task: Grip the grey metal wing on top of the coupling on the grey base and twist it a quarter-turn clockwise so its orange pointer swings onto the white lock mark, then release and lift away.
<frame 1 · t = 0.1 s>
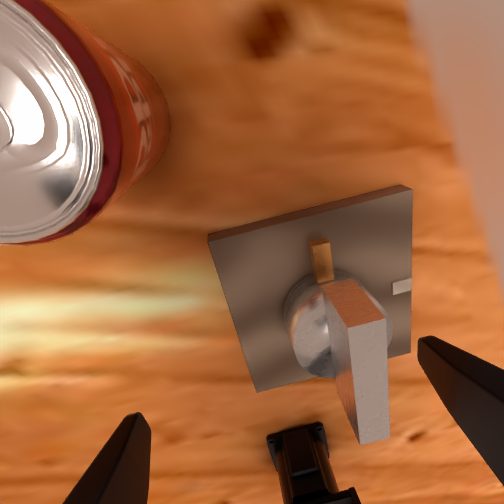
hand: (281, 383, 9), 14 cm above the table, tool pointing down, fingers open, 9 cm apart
soda can: (112, 118, 19), on the table
post base: (317, 295, 26), on the table
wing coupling: (343, 333, 20), point 6 cm above the table, hinge at 0.0°
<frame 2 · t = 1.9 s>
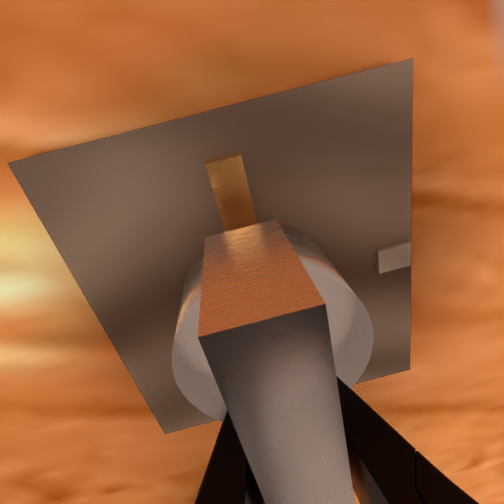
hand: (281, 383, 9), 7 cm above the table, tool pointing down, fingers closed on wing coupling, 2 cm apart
post base: (254, 276, 16), on the table
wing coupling: (271, 343, 10), point 6 cm above the table, hinge at 0.0°, touching gripper
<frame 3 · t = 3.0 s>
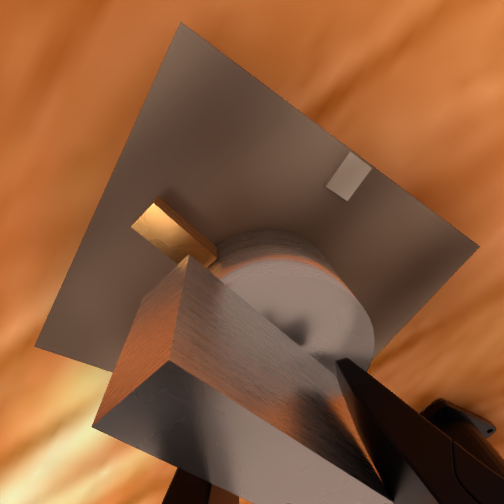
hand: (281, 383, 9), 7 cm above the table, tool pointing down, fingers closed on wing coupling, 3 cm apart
post base: (256, 280, 16), on the table
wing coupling: (263, 352, 10), point 6 cm above the table, hinge at -14.6°, touching gripper
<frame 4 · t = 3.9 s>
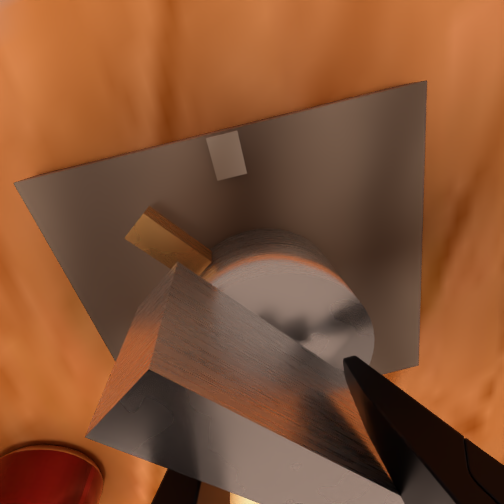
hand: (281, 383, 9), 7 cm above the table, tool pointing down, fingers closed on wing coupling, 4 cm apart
soda can: (51, 471, 21), on the table
post base: (257, 279, 16), on the table
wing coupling: (262, 351, 10), point 6 cm above the table, hinge at -54.4°, touching gripper
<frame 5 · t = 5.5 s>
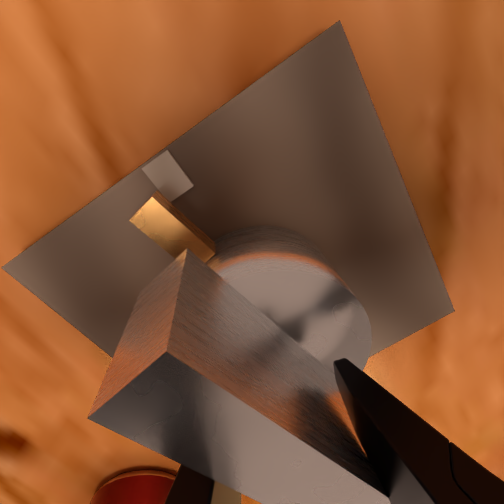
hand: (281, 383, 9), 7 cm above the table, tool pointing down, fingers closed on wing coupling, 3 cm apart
soda can: (145, 491, 23), on the table
post base: (254, 276, 16), on the table
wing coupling: (260, 347, 10), point 6 cm above the table, hinge at -80.6°, touching gripper
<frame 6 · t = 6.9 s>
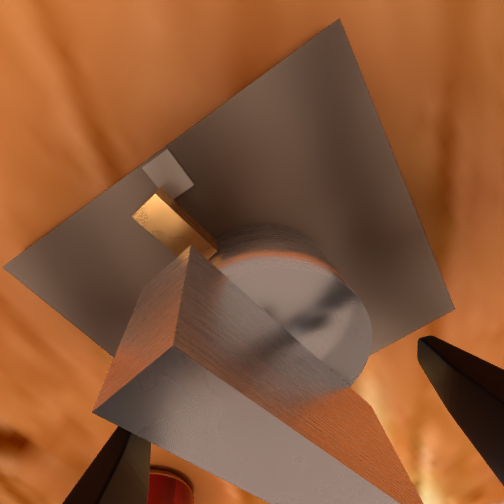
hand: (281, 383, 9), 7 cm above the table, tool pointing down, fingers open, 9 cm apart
soda can: (146, 490, 23), on the table
post base: (255, 275, 16), on the table
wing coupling: (261, 345, 10), point 6 cm above the table, hinge at -81.6°
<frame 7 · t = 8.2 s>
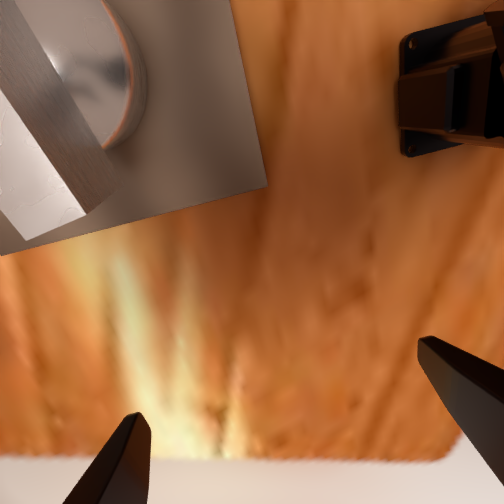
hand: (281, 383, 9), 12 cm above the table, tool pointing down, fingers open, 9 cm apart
post base: (84, 78, 15), on the table
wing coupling: (1, 35, 10), point 6 cm above the table, hinge at -81.6°
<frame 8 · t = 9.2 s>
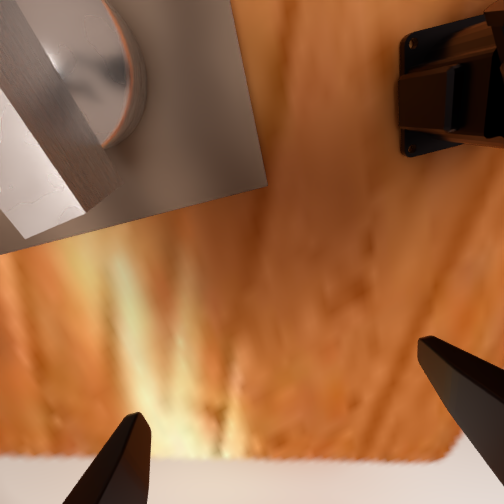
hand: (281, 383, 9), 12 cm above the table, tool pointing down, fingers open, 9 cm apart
post base: (83, 77, 15), on the table
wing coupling: (0, 33, 10), point 6 cm above the table, hinge at -81.6°
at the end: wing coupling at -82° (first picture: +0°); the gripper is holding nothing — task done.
